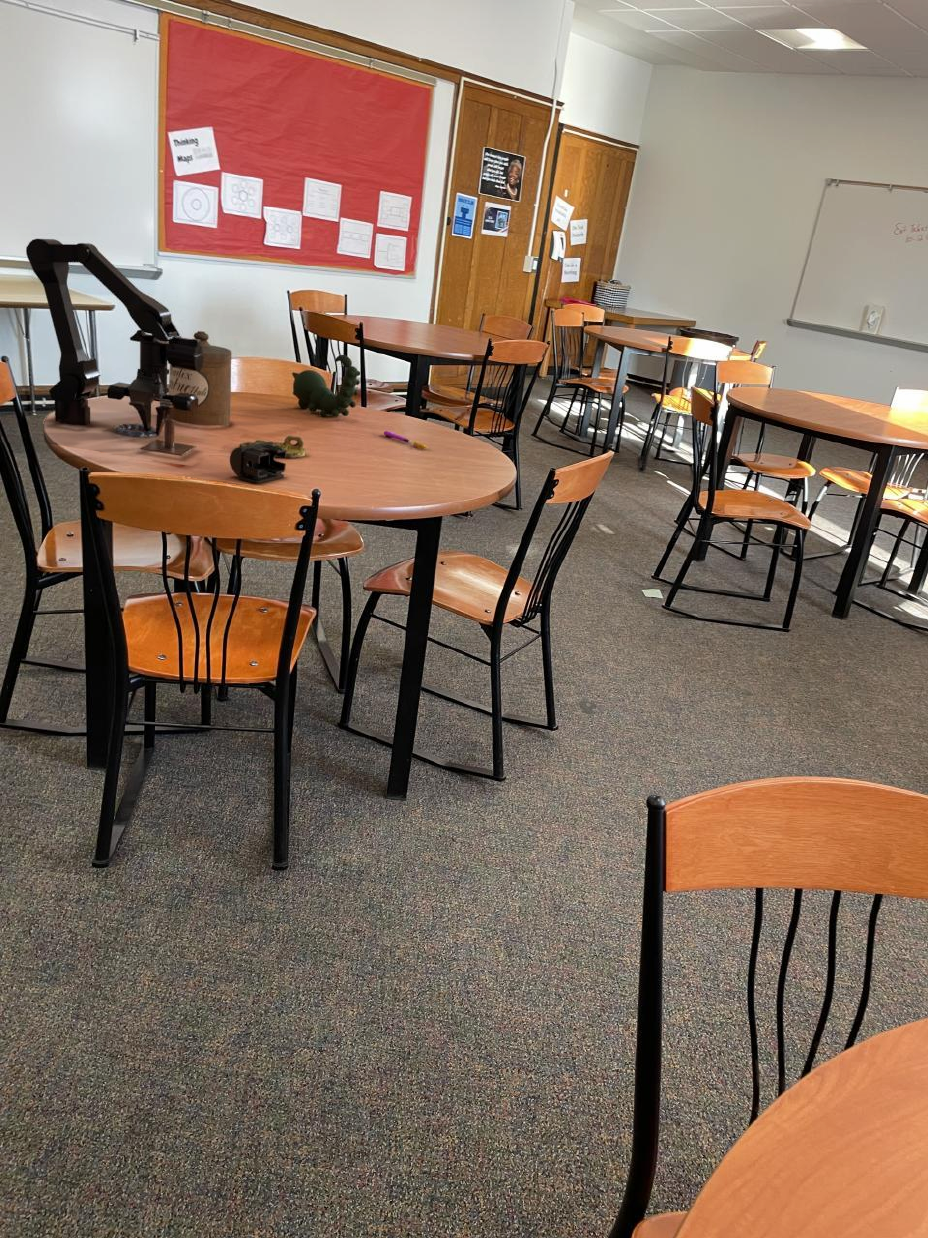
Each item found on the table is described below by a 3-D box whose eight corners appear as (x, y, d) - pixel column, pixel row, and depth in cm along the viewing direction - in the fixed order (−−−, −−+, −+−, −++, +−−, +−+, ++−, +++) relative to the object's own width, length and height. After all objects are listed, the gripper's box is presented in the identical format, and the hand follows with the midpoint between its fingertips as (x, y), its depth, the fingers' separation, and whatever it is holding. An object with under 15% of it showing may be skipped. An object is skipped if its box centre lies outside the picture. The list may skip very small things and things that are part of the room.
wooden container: (155, 417, 223) (156, 325, 215) (202, 413, 235) (204, 326, 227) (196, 431, 217) (199, 337, 208) (242, 426, 228) (246, 337, 220)
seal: (239, 459, 202) (306, 463, 207) (240, 439, 200) (308, 444, 204) (238, 445, 210) (302, 449, 214) (239, 425, 208) (304, 430, 212)
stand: (140, 453, 191) (140, 419, 188) (156, 444, 200) (157, 412, 197) (181, 460, 191) (182, 426, 188) (196, 451, 199) (197, 419, 197)
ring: (106, 437, 199) (106, 428, 199) (124, 429, 208) (124, 420, 208) (148, 444, 199) (148, 435, 199) (165, 435, 208) (165, 427, 207)
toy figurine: (359, 427, 256) (300, 400, 268) (370, 360, 248) (309, 336, 260) (335, 429, 249) (276, 401, 261) (346, 360, 241) (284, 335, 253)
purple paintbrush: (382, 434, 242) (424, 449, 233) (383, 430, 242) (426, 445, 233) (389, 436, 244) (431, 451, 235) (390, 431, 244) (432, 447, 235)
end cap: (259, 469, 193) (261, 438, 191) (286, 477, 191) (288, 445, 188) (228, 476, 185) (229, 444, 182) (255, 484, 182) (257, 452, 179)
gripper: (95, 361, 190) (96, 434, 196) (181, 375, 190) (180, 448, 196) (118, 356, 200) (118, 425, 206) (200, 369, 200) (198, 438, 206)
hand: (153, 434), depth 203 cm, fingers closed on ring, 2 cm apart
